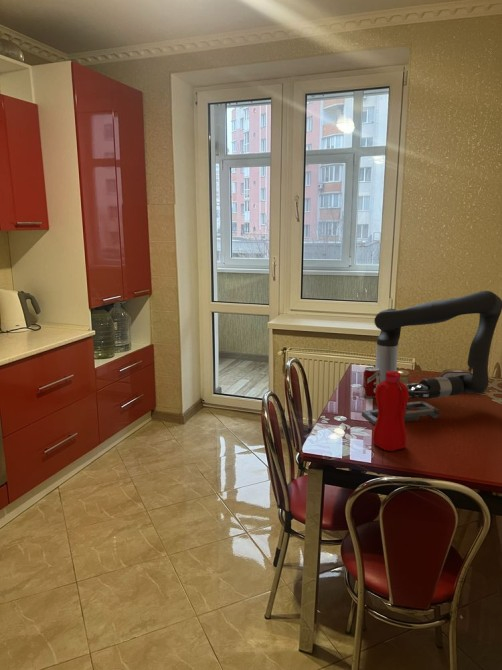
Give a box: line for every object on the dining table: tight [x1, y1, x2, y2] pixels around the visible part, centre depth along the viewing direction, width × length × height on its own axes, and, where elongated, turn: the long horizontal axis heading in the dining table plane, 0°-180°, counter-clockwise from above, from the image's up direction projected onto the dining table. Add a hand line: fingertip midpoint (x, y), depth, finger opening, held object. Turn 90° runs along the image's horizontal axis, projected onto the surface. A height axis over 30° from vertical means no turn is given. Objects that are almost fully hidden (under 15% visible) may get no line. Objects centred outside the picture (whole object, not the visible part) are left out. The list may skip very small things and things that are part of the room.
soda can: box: [362, 366, 380, 399], centre depth 200 cm, size 7×7×12 cm
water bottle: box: [372, 371, 410, 452], centre depth 152 cm, size 9×11×25 cm
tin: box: [437, 368, 473, 378], centre depth 208 cm, size 15×3×8 cm, turn 84°
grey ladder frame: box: [361, 400, 440, 426], centre depth 179 cm, size 26×10×3 cm, turn 103°
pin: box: [397, 369, 410, 387], centre depth 177 cm, size 5×5×16 cm
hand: (394, 392), depth 177 cm, fingers closed on pin, 4 cm apart
